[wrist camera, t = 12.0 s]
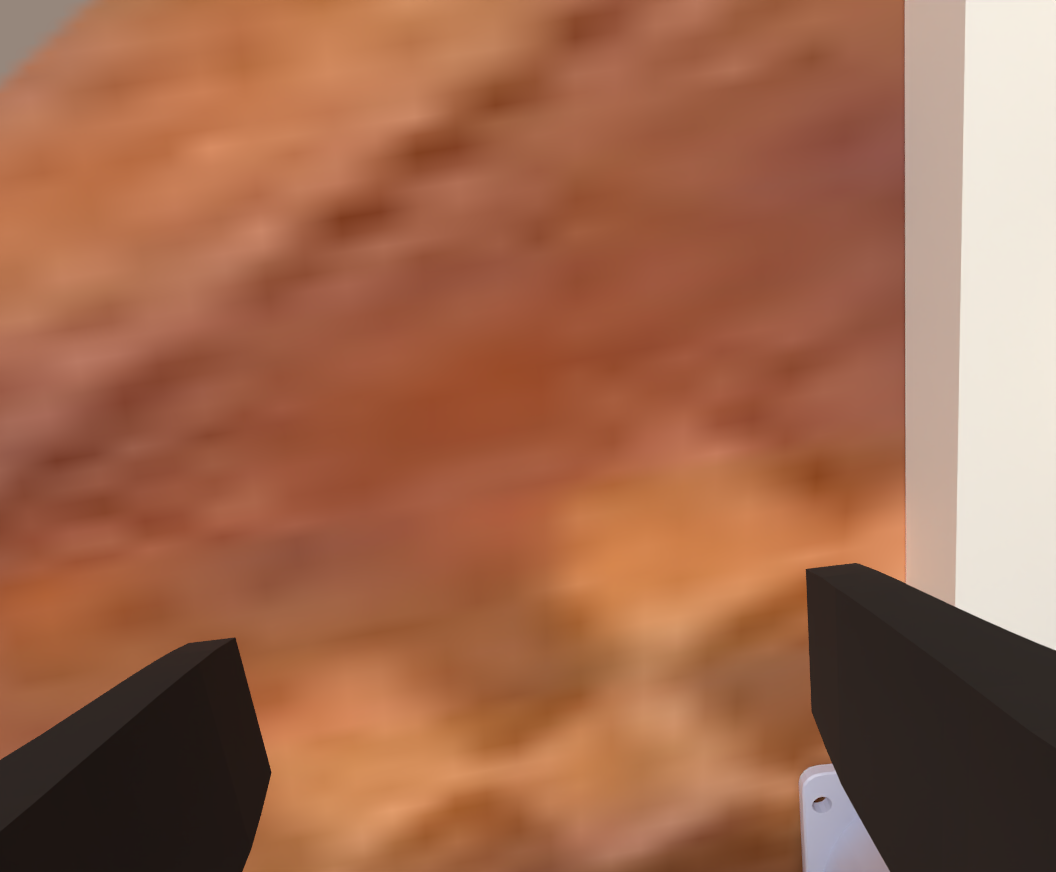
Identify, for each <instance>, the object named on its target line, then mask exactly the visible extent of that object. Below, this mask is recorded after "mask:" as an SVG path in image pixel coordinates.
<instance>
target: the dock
mask: <svg viewBox="0 0 1056 872" xmlns="http://www.w3.org/2000/svg"><path fill="white" fill-rule="evenodd" d="M905 429H906V584H908V585H910V586H912V587H914V588H916V589H918V590H921V591H923V592H925V593H927V594H929V595H931V596H933V597H935V598H938V599H940V600H942V601H944V602H946V603H948V604H950V605H953V606H955V607H957V608H959V609H961V610H963V611H966V612H968V613H970V614H972V615H974V616H977V617H979V618H981V619H983V620H985V621H988V622H990V623H992V624H994V625H997V626H999V627H1001V628H1003V629H1006V630H1008V631H1010V632H1013V633H1015V634H1017V635H1020V636H1022V637H1024V638H1027V639H1029V640H1031V641H1034V642H1036V643H1038V644H1041V645H1044V646H1046V647H1049V648H1051V649H1054V650H1056V0H905Z"/></svg>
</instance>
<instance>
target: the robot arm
mask: <svg viewBox="0 0 1056 872" xmlns="http://www.w3.org/2000/svg"><path fill="white" fill-rule="evenodd" d="M806 582H807V607H808V632H809V656H810V681H811V706H812V714H813V716H814V719H815V721H816V724H817V726H818V729H819V731H820V734H821V737H822V739H823V742H824V744H825V747H826V749H827V752H828V754H829V757H830V759H831V761H832V764H823V765H816V766H812V767H809V768H808V769H806V770H805V771H803V773H802V774H801V776H800V778H799V800H800V821H801V843H802V864H803V872H1056V650H1054V649H1051V648H1049V647H1046V646H1044V645H1041V644H1038V643H1036V642H1034V641H1031V640H1029V639H1027V638H1024V637H1022V636H1020V635H1017V634H1015V633H1013V632H1010V631H1008V630H1006V629H1003V628H1001V627H999V626H997V625H994V624H992V623H990V622H988V621H985V620H983V619H981V618H979V617H977V616H974V615H972V614H970V613H968V612H966V611H963V610H961V609H959V608H957V607H955V606H953V605H950V604H948V603H946V602H944V601H942V600H940V599H938V598H935V597H933V596H931V595H929V594H927V593H925V592H923V591H921V590H918V589H916V588H914V587H912V586H910V585H908V584H906V583H903V582H901V581H899V580H897V579H895V578H892V577H890V576H888V575H886V574H883V573H881V572H879V571H876V570H874V569H871V568H869V567H866V566H863V565H860V564H857V563H853V564H844V565H836V566H828V567H819V568H811V569H806ZM270 776H271V769H270V765H269V762H268V758H267V754H266V750H265V747H264V743H263V739H262V736H261V732H260V728H259V724H258V721H257V717H256V713H255V709H254V706H253V702H252V698H251V694H250V691H249V687H248V683H247V679H246V676H245V672H244V668H243V664H242V661H241V657H240V653H239V649H238V646H237V642H236V638H228V639H220V640H211V641H203V642H195V643H188V644H186V645H184V646H182V647H180V648H178V649H176V650H174V651H172V652H170V653H168V654H167V655H165V656H163V657H161V658H160V659H158V660H156V661H155V662H153V663H151V664H150V665H148V666H146V667H145V668H143V669H142V670H140V671H138V672H137V673H135V674H134V675H132V676H131V677H129V678H127V679H126V680H124V681H123V682H121V683H120V684H118V685H117V686H115V687H114V688H112V689H111V690H109V691H107V692H106V693H104V694H103V695H101V696H100V697H98V698H97V699H95V700H94V701H92V702H91V703H89V704H88V705H86V706H84V707H83V708H81V709H80V710H78V711H77V712H75V713H74V714H72V715H71V716H69V717H68V718H66V719H65V720H63V721H62V722H60V723H58V724H57V725H55V726H54V727H52V728H51V729H49V730H48V731H46V732H45V733H43V734H42V735H40V736H38V737H37V738H35V739H34V740H32V741H30V742H29V743H27V744H25V745H24V746H22V747H21V748H19V749H17V750H16V751H14V752H12V753H11V754H9V755H8V756H6V757H4V758H3V759H1V760H0V872H242V871H243V868H244V866H245V863H246V861H247V858H248V856H249V853H250V851H251V848H252V844H253V841H254V837H255V834H256V830H257V827H258V823H259V820H260V816H261V813H262V809H263V805H264V801H265V797H266V792H267V788H268V784H269V780H270ZM820 797H826V798H825V799H824V800H823V801H821V802H818V803H816V802H814V801H815V800H816V799H817V798H820Z"/></svg>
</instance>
